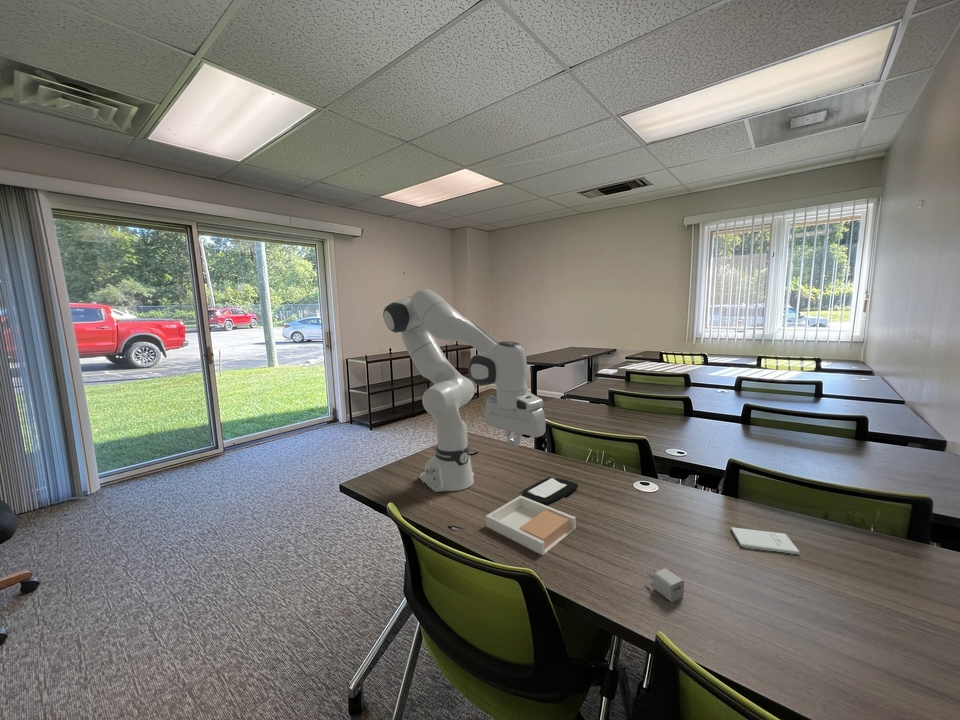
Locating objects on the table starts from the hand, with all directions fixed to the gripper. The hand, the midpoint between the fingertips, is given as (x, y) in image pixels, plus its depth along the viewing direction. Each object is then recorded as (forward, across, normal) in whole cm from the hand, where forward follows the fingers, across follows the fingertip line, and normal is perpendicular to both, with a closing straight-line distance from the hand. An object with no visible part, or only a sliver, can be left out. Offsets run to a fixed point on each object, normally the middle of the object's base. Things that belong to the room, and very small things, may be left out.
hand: (514, 445), depth 109 cm
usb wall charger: (+24, +41, +1) cm, 48 cm away
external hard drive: (+25, +54, +35) cm, 69 cm away
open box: (+24, +5, 0) cm, 25 cm away
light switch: (+25, -4, +22) cm, 33 cm away
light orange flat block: (+23, +10, 0) cm, 25 cm away
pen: (+25, -5, -12) cm, 28 cm away
